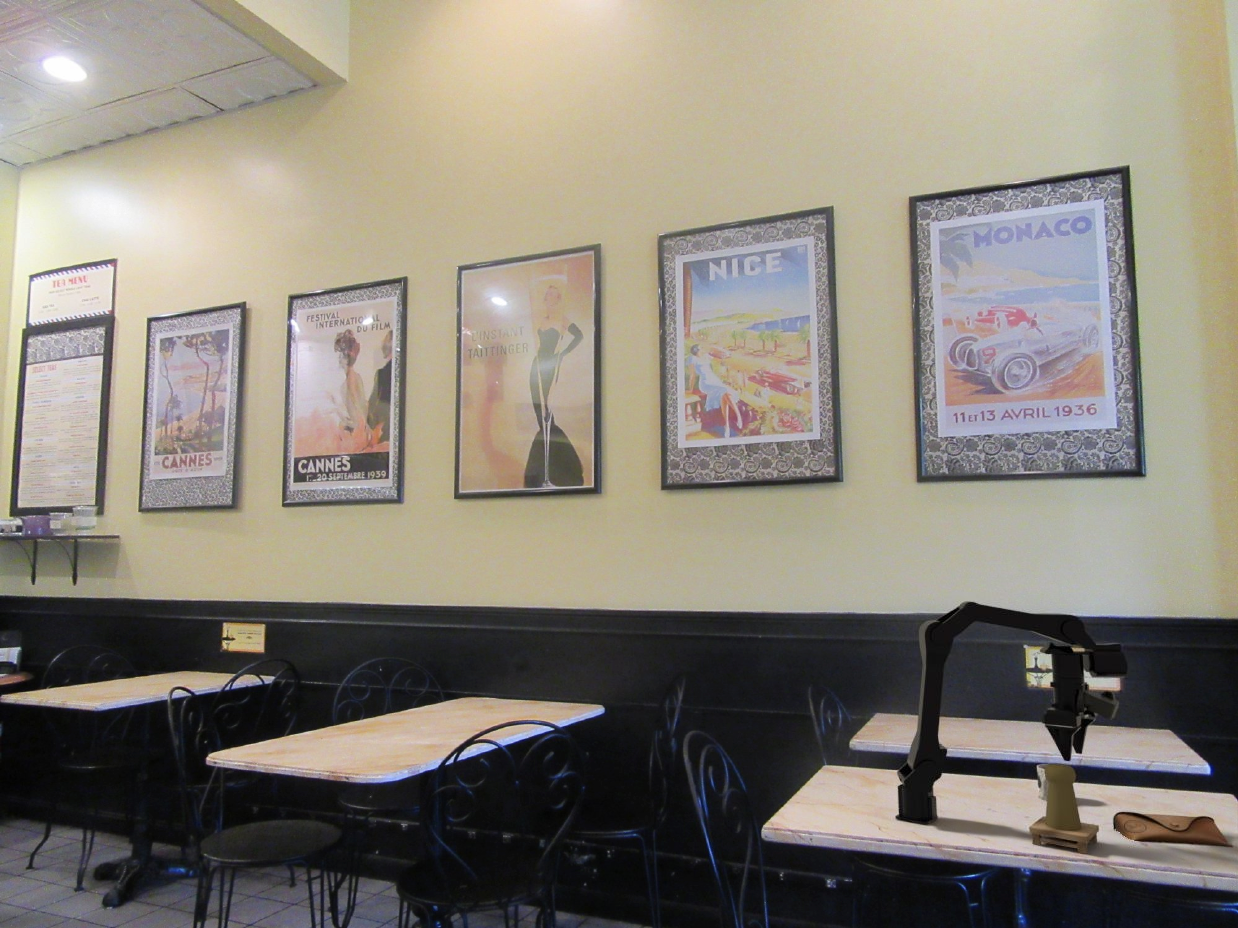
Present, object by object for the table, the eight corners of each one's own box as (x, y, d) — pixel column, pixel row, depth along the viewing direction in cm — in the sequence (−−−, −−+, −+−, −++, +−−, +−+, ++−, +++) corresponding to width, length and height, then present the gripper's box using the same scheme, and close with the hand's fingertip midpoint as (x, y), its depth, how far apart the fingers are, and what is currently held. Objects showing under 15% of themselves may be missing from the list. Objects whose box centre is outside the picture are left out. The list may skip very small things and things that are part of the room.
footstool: (1030, 843, 159) (1029, 826, 159) (1044, 832, 166) (1043, 815, 167) (1087, 854, 153) (1086, 836, 153) (1099, 842, 160) (1098, 825, 161)
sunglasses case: (1129, 841, 160) (1120, 804, 164) (1118, 851, 166) (1109, 815, 170) (1237, 847, 157) (1225, 809, 161) (1222, 857, 163) (1211, 820, 167)
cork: (1086, 831, 156) (1081, 768, 158) (1049, 829, 158) (1045, 766, 159) (1076, 822, 162) (1072, 761, 164) (1041, 820, 164) (1037, 760, 165)
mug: (1044, 793, 196) (1042, 762, 197) (1076, 798, 191) (1074, 767, 192) (1028, 801, 189) (1026, 769, 190) (1061, 807, 184) (1059, 774, 185)
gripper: (1102, 684, 162) (1108, 771, 160) (1123, 675, 176) (1128, 755, 174) (1038, 680, 169) (1043, 762, 167) (1063, 671, 183) (1068, 748, 181)
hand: (1073, 757), depth 172 cm, fingers open, 9 cm apart
